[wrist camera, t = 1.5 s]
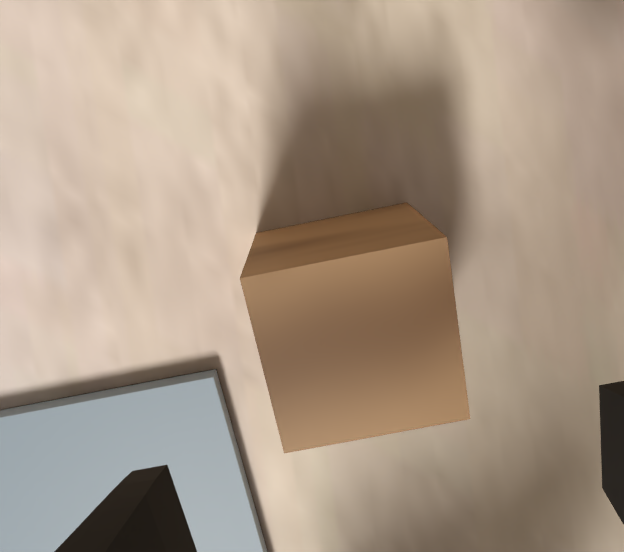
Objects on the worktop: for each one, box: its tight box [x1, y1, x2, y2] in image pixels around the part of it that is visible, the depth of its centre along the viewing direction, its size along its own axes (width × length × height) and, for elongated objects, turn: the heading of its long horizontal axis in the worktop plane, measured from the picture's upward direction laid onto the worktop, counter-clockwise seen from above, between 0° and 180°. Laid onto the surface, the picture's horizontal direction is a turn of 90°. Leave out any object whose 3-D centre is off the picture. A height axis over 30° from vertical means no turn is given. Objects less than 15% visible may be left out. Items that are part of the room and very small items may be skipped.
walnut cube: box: [240, 203, 470, 453], centre depth 16 cm, size 5×5×5 cm
